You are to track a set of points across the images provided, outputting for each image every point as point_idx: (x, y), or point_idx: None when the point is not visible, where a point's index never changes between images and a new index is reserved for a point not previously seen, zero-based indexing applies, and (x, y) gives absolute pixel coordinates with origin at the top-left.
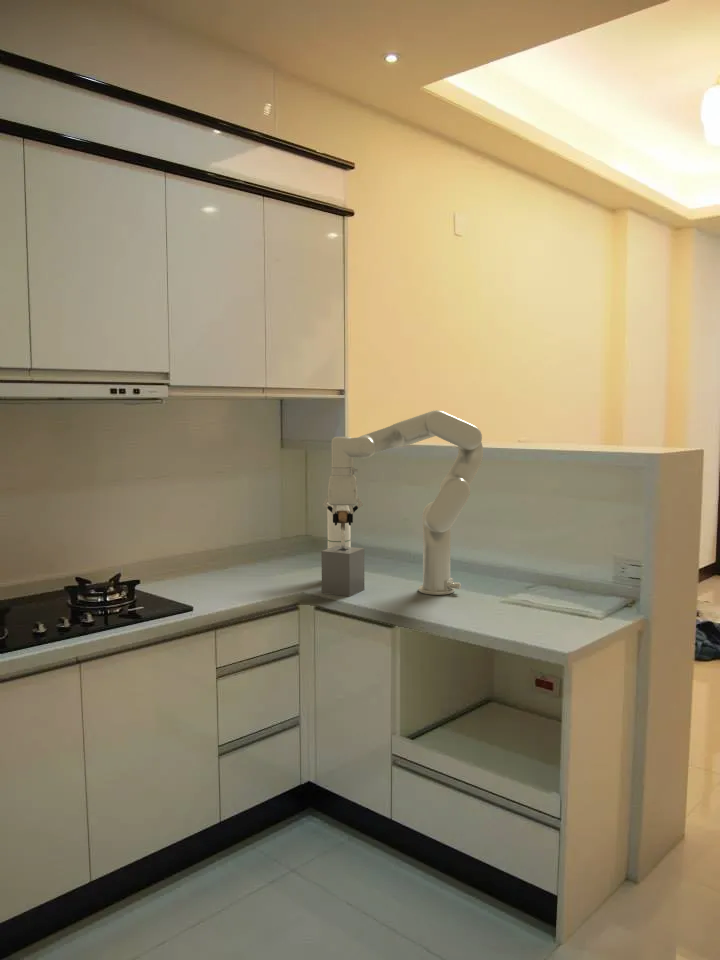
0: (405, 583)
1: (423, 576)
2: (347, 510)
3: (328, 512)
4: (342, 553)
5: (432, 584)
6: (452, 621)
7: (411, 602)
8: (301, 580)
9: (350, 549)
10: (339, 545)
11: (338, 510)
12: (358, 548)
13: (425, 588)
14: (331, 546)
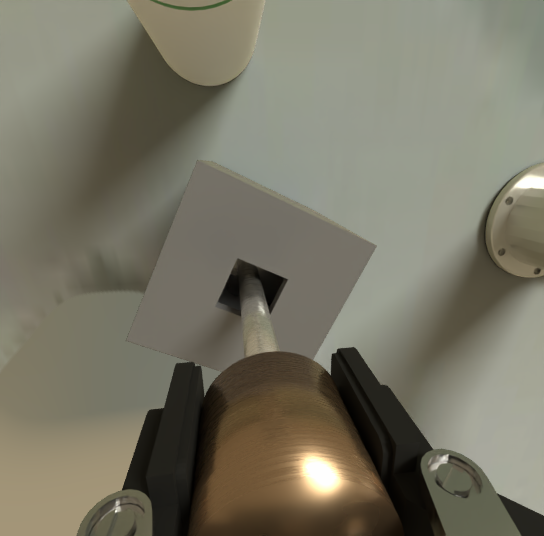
0: (466, 105)
1: (540, 243)
2: (383, 508)
3: None
4: None
5: (540, 268)
6: (488, 475)
7: (437, 349)
8: (27, 40)
9: (295, 284)
10: (200, 21)
11: (208, 531)
12: (342, 251)
13: (510, 247)
14: (135, 1)
